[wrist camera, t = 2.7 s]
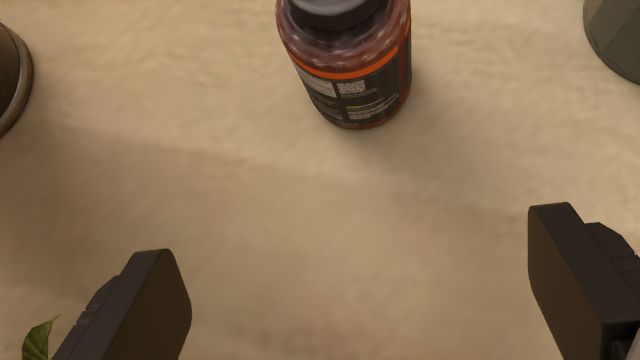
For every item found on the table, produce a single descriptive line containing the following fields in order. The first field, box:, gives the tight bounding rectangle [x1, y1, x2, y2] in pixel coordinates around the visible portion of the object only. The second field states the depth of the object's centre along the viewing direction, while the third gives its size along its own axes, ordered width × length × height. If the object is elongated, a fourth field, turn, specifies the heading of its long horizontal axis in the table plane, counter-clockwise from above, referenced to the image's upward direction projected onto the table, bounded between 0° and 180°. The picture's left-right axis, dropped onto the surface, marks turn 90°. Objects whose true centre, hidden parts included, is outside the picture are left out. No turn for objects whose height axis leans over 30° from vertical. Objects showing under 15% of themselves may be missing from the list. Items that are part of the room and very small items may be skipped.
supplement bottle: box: [275, 0, 412, 129], centre depth 25 cm, size 6×6×11 cm
